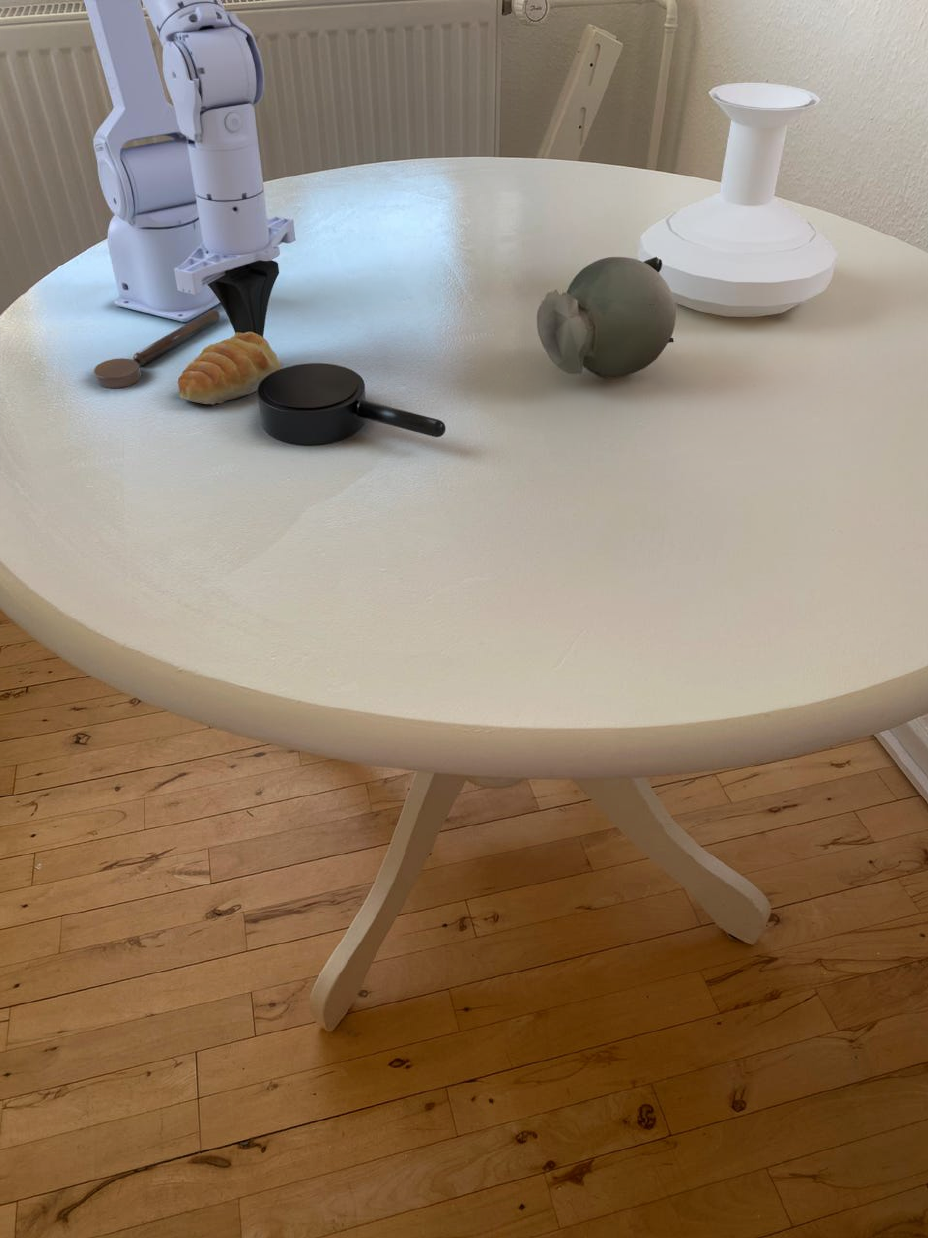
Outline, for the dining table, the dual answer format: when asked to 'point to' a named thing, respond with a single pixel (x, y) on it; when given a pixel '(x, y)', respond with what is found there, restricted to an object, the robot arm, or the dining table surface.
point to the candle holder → (745, 219)
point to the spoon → (148, 354)
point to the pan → (326, 406)
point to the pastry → (228, 369)
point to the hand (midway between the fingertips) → (250, 341)
